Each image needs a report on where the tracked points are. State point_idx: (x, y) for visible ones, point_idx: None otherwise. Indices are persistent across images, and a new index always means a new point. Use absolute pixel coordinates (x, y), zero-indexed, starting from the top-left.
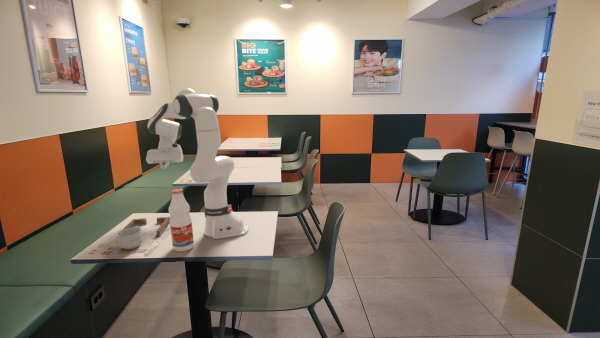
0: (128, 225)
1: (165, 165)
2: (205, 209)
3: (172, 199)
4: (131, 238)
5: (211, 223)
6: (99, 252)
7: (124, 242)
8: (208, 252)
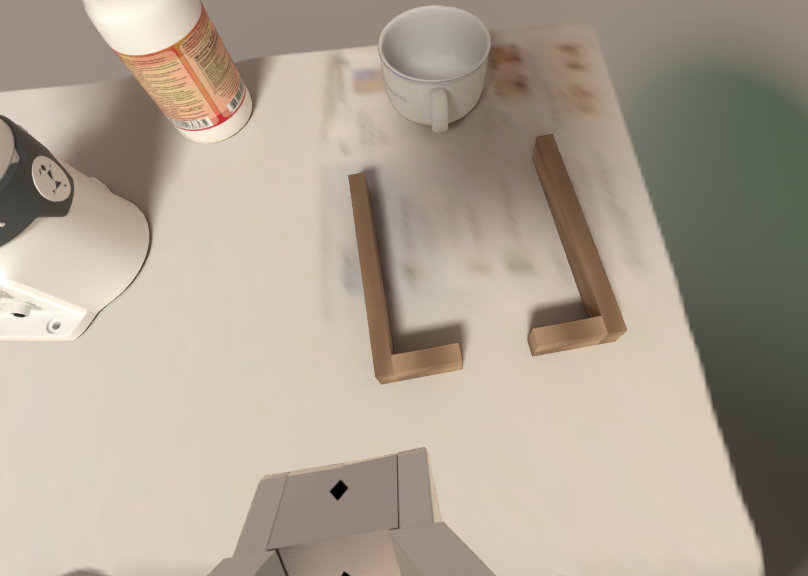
0: (575, 228)
1: (254, 524)
2: (19, 128)
3: None
4: (401, 31)
5: (57, 157)
6: (538, 55)
7: (429, 33)
8: (121, 92)
